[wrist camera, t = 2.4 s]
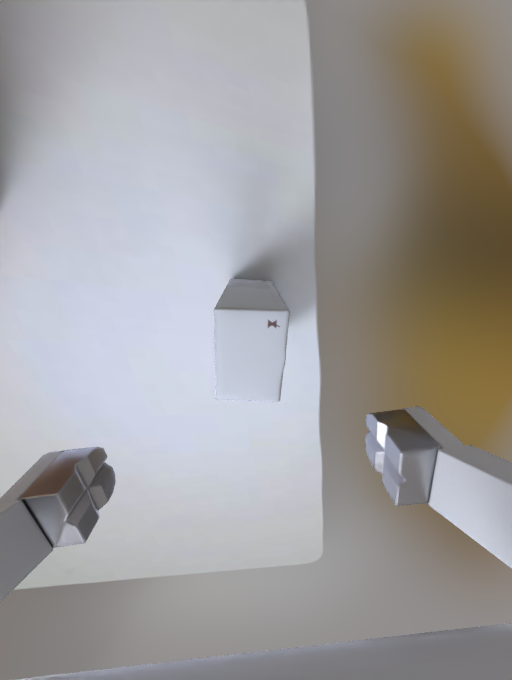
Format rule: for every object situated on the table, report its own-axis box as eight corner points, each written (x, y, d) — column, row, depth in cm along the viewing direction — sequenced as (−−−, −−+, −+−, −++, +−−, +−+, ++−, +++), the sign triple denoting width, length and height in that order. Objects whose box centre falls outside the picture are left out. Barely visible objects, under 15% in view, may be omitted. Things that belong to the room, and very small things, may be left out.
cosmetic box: (228, 277, 24) (212, 304, 13) (272, 280, 24) (293, 308, 13) (228, 336, 26) (213, 402, 15) (267, 337, 26) (282, 404, 15)
